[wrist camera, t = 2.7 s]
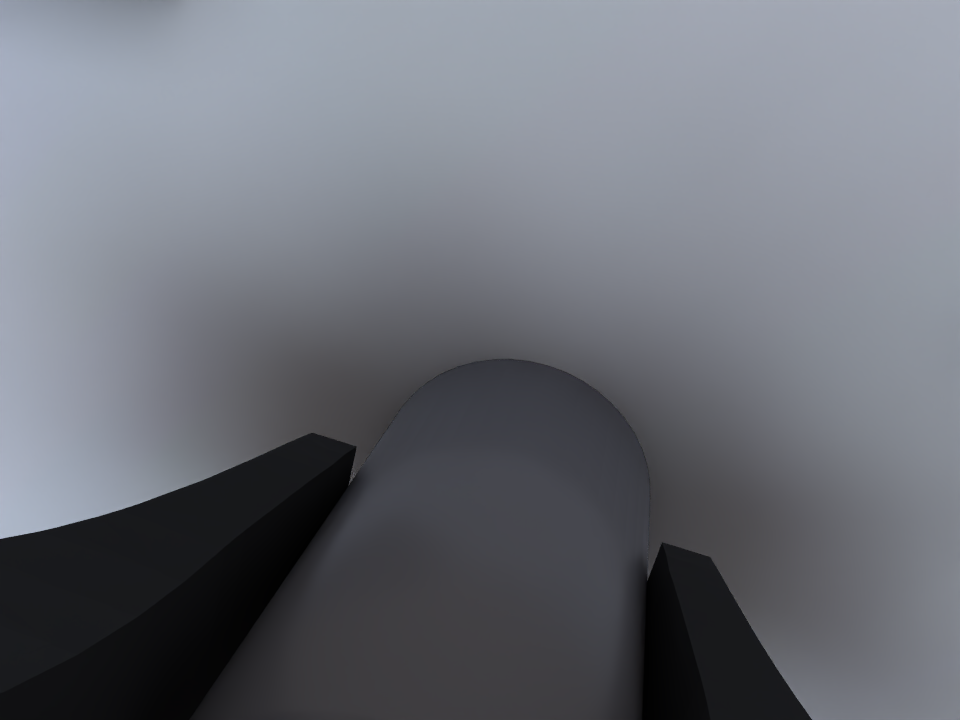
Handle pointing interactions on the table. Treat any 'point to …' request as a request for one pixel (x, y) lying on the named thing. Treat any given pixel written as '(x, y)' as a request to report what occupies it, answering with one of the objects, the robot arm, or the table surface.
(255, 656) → the plug
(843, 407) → the table surface
